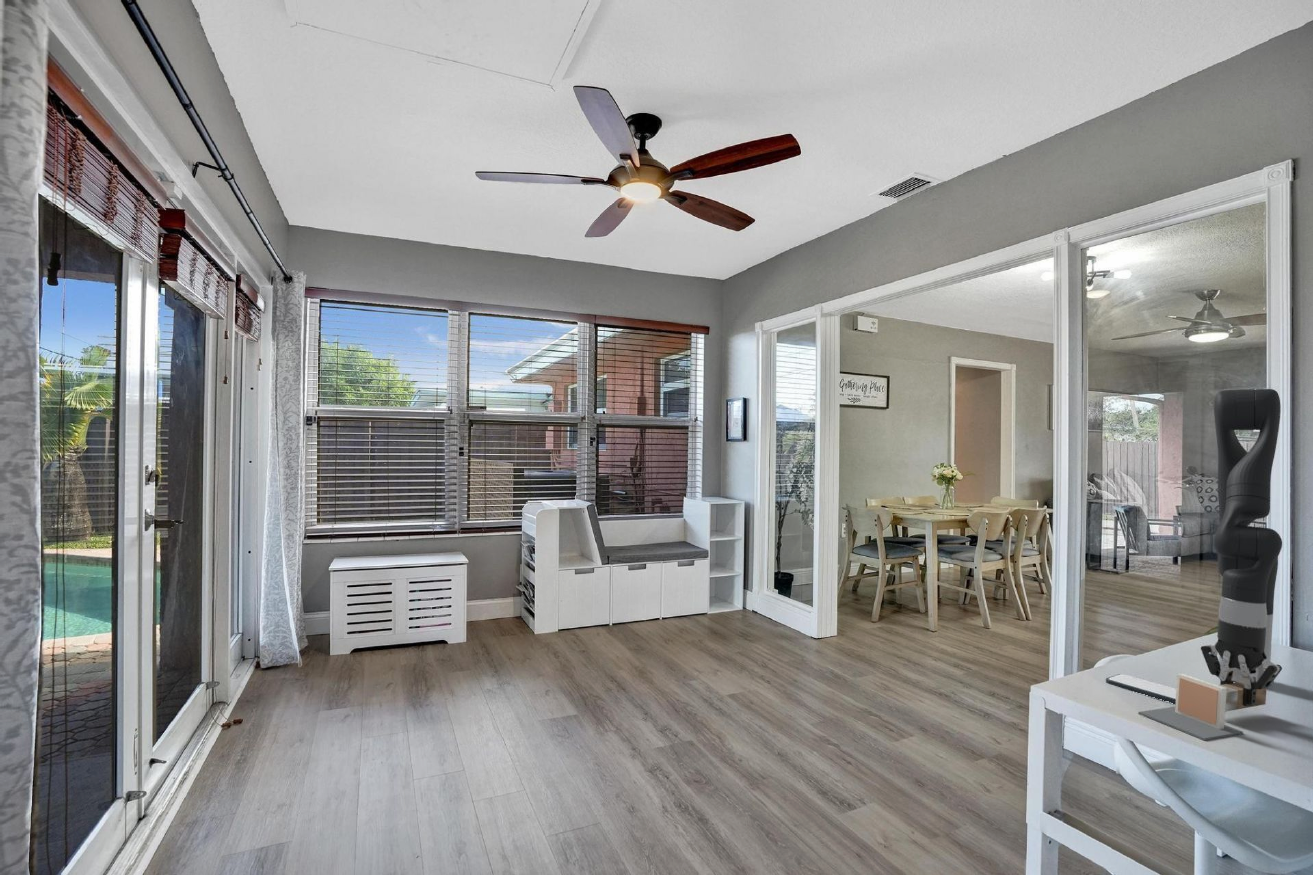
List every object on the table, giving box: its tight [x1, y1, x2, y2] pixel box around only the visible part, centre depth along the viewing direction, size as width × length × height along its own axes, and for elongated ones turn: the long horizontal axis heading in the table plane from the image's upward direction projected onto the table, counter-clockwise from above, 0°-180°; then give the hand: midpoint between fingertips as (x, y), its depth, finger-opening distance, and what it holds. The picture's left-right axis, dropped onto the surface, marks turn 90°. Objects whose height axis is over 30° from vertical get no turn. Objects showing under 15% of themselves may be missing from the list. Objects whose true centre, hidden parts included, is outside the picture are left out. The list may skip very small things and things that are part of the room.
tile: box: [1174, 673, 1227, 729], centre depth 133 cm, size 2×8×8 cm, turn 21°
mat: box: [1138, 706, 1244, 742], centre depth 132 cm, size 12×12×1 cm
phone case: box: [1105, 673, 1176, 705], centre depth 149 cm, size 9×2×16 cm
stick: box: [1218, 681, 1267, 713], centre depth 138 cm, size 14×3×4 cm, turn 111°
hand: (1236, 701), depth 138 cm, fingers closed on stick, 3 cm apart
